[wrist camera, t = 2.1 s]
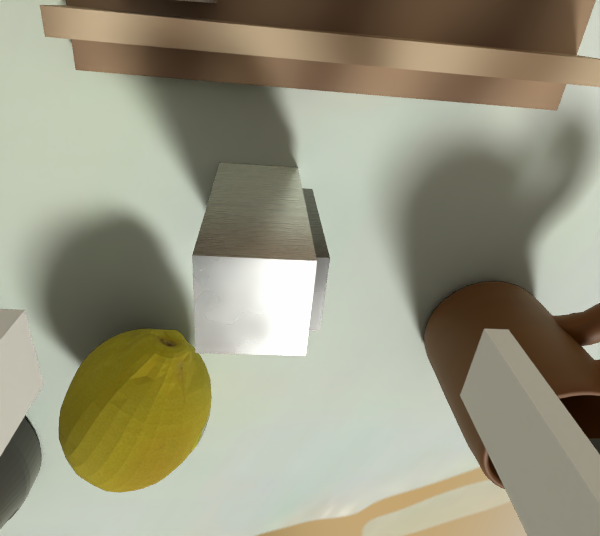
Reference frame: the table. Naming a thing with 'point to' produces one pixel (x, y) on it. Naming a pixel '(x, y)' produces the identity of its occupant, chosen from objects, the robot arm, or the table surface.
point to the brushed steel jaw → (258, 263)
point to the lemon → (135, 409)
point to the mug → (534, 341)
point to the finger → (205, 0)
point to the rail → (342, 45)
